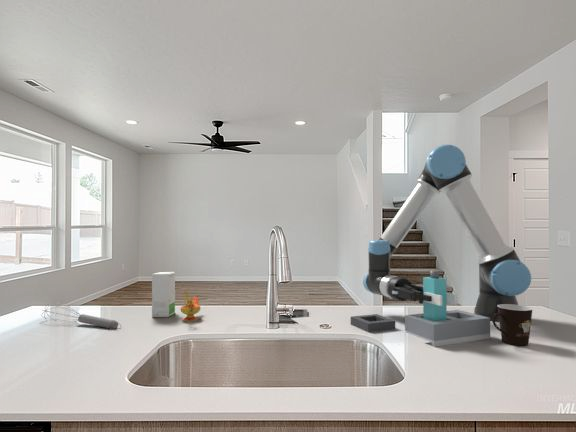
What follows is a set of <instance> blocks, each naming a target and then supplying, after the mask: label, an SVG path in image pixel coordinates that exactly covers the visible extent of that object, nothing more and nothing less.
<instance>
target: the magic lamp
mask: <svg viewBox="0 0 576 432" xmlns="http://www.w3.org/2000/svg"><path fill="white" fill-rule="evenodd" d="M183 293H184V295H185V298H184V305H183V306H180V312H181V313H182V314H184V315H185V316H186V317H185V318H182V321H185V322H194V321H197V320H199V319H198V317H196V316H195V315H196V314H198V313H199V312H200V310H201V305H199V304H200V303H199V301H200V295H199V294H196V295H194V297H193V298H192V299H191V298H189V297H190V294H189V291H188V290H185V291H184V292H183Z"/></svg>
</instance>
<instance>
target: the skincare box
mask: <svg viewBox="0 0 576 432" xmlns="http://www.w3.org/2000/svg"><path fill="white" fill-rule="evenodd" d="M175 282H176V272H175V271H163V272H161V271H159V272H155V273H151V318H169V317H171V316H172V315H174V314H175V313H176V283H175Z"/></svg>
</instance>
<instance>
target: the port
mask: <svg viewBox="0 0 576 432" xmlns="http://www.w3.org/2000/svg"><path fill="white" fill-rule="evenodd" d="M404 328H405V329H404V332H405V334H410V335H411V336H414V337H416V338H419V339H422V340H424V341H427V342H425V344H426V345H429V346H431V347H433V348H434V347H440V346H449V345H453V344H454V345H456V344H462V343H469V342H470V343H471V342H476V341H484V340H489V339H491V320H490V318H488V317H484V316H481V315H477V314H474V312H473V313H472V312H468V311H466V310H465V311H464V310H461V309H454V310H453V309H452V310H447V320H442V321H431V320H428V319H425V318H423V313H414V314H405V315H404Z"/></svg>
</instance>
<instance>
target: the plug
mask: <svg viewBox="0 0 576 432" xmlns="http://www.w3.org/2000/svg"><path fill="white" fill-rule="evenodd" d="M429 271H430V276H428V277H427V276H425V277H422V280H423V281H422V287H423V294H424V292H428V293H432V294H436V295H441V296H442V306H439V305H435V304H432V303H428V302H424V300H423V304H422V308H423V310H422V311H423V312H422V314H423V318H425V319H428V320H431V321H442V320H447V311H448V310H447V302H446V293H447V278H444V277H440V271H438V270H429Z"/></svg>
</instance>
